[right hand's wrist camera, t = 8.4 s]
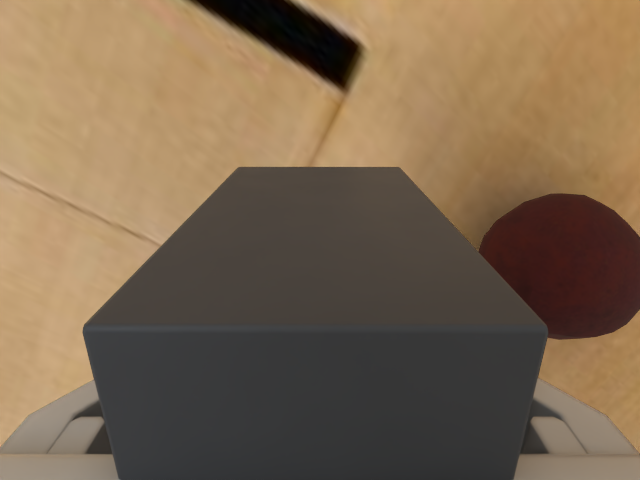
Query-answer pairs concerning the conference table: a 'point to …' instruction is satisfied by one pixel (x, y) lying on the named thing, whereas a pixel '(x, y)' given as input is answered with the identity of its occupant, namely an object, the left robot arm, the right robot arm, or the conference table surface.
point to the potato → (569, 263)
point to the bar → (316, 340)
